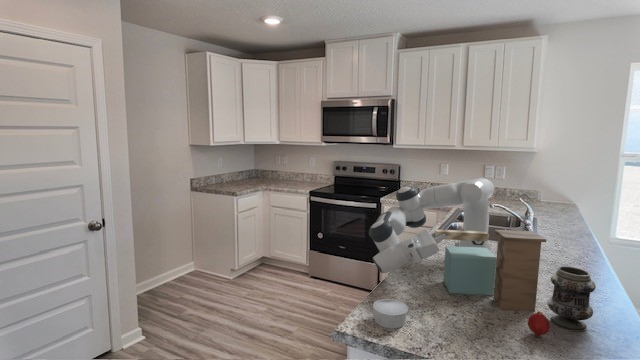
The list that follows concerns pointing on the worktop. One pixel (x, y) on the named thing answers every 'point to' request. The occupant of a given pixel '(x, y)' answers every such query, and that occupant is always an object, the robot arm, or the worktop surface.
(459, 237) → the rod
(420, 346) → the worktop surface
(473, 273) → the low block
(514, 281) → the tall stand
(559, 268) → the apothecary jar
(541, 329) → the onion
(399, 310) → the ramekin
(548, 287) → the worktop surface
